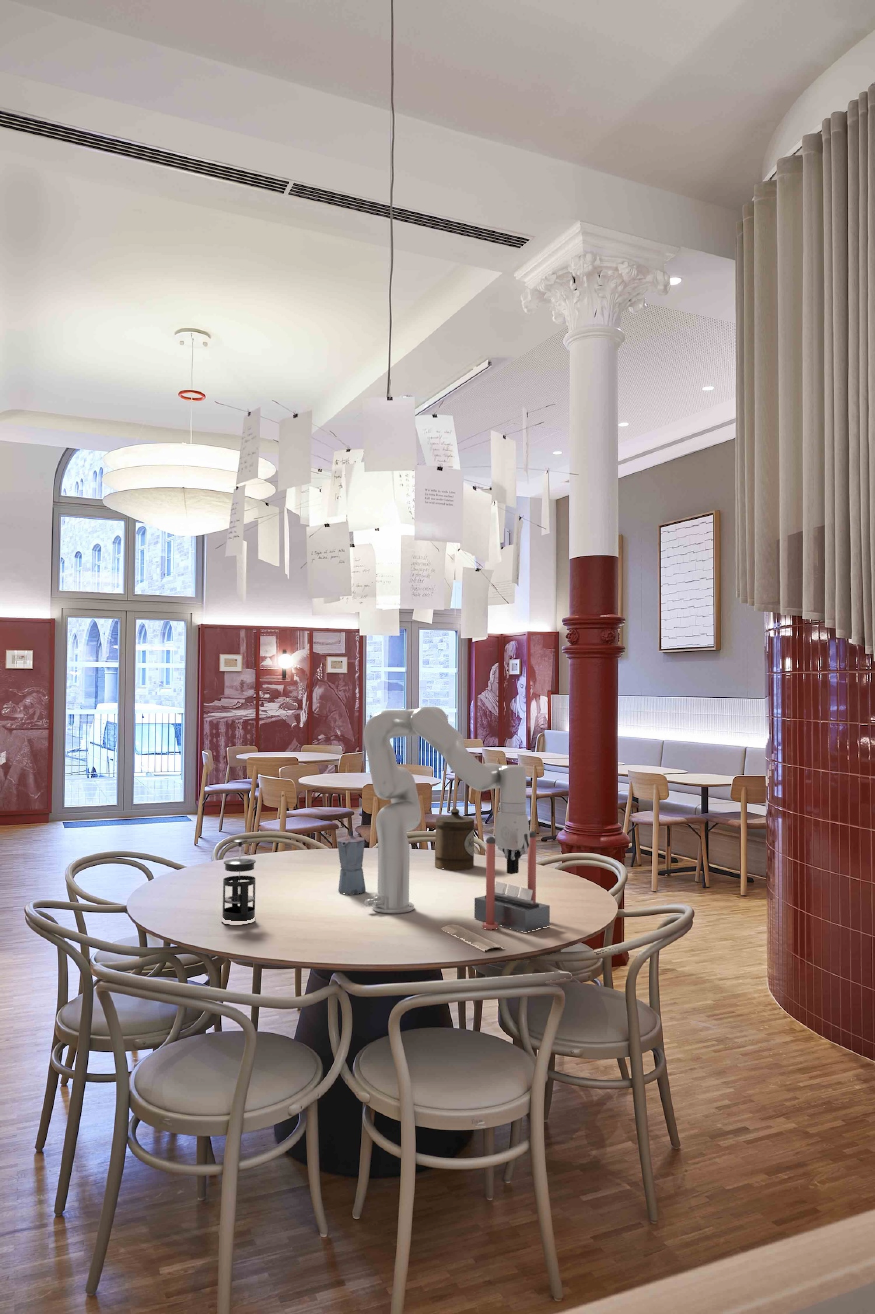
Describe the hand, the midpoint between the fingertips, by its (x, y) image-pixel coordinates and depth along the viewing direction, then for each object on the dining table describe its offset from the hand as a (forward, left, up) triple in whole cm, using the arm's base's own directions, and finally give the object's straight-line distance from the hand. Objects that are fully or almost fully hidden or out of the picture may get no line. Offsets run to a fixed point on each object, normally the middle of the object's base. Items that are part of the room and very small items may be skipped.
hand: (512, 872), depth 244 cm
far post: (+8, 0, -14) cm, 17 cm away
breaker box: (0, 0, -14) cm, 14 cm away
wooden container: (+43, +71, -14) cm, 85 cm away
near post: (-9, 0, -14) cm, 17 cm away
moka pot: (-12, +61, -14) cm, 64 cm away
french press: (-59, +50, -14) cm, 79 cm away
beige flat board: (-21, -4, -15) cm, 26 cm away
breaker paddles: (0, 0, -7) cm, 7 cm away
